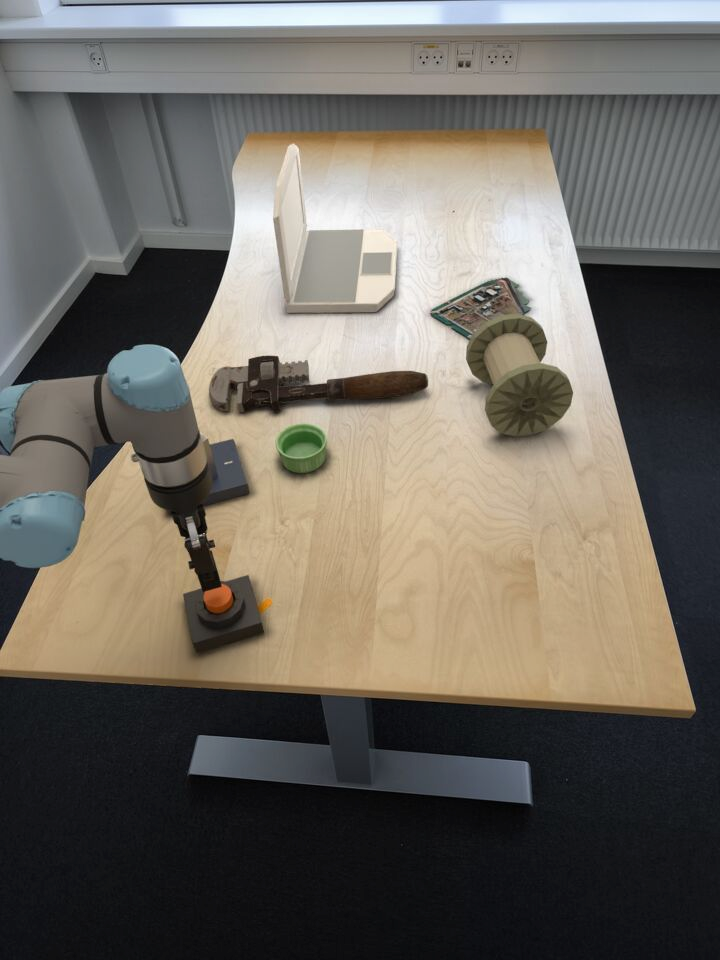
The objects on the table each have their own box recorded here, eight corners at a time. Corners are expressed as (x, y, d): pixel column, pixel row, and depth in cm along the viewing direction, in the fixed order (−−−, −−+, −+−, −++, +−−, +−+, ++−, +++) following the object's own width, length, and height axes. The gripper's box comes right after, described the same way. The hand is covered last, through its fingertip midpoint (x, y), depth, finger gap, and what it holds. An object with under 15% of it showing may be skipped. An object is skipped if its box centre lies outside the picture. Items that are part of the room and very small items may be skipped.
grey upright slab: (218, 476, 126) (207, 436, 119) (209, 482, 125) (198, 443, 118) (192, 458, 129) (180, 419, 122) (183, 464, 128) (171, 425, 121)
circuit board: (500, 275, 170) (500, 271, 169) (548, 302, 162) (549, 298, 161) (427, 311, 161) (427, 307, 160) (474, 341, 153) (474, 338, 152)
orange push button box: (196, 653, 105) (189, 636, 102) (186, 603, 111) (180, 586, 108) (264, 632, 107) (259, 615, 103) (251, 585, 113) (246, 567, 109)
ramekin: (276, 445, 134) (273, 427, 131) (324, 437, 135) (322, 419, 132) (281, 479, 128) (278, 462, 125) (332, 471, 129) (330, 453, 126)
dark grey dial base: (169, 515, 123) (165, 504, 122) (159, 467, 131) (156, 457, 130) (249, 493, 126) (247, 482, 124) (235, 448, 134) (233, 437, 132)
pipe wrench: (209, 422, 141) (203, 405, 137) (213, 374, 149) (208, 356, 145) (430, 401, 141) (430, 383, 137) (422, 354, 148) (422, 336, 144)
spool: (565, 430, 133) (579, 364, 122) (484, 440, 132) (490, 374, 121) (538, 375, 144) (549, 309, 134) (464, 383, 144) (468, 319, 133)
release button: (208, 617, 104) (205, 610, 103) (203, 595, 107) (201, 588, 105) (235, 609, 105) (233, 602, 104) (230, 587, 107) (228, 580, 106)
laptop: (394, 312, 162) (392, 196, 143) (286, 313, 164) (269, 199, 144) (398, 237, 185) (396, 129, 166) (303, 239, 187) (290, 132, 167)
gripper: (136, 439, 89) (177, 557, 106) (149, 514, 81) (192, 630, 98) (197, 424, 91) (228, 544, 108) (217, 497, 82) (247, 614, 99)
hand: (211, 585), depth 103 cm, fingers closed
